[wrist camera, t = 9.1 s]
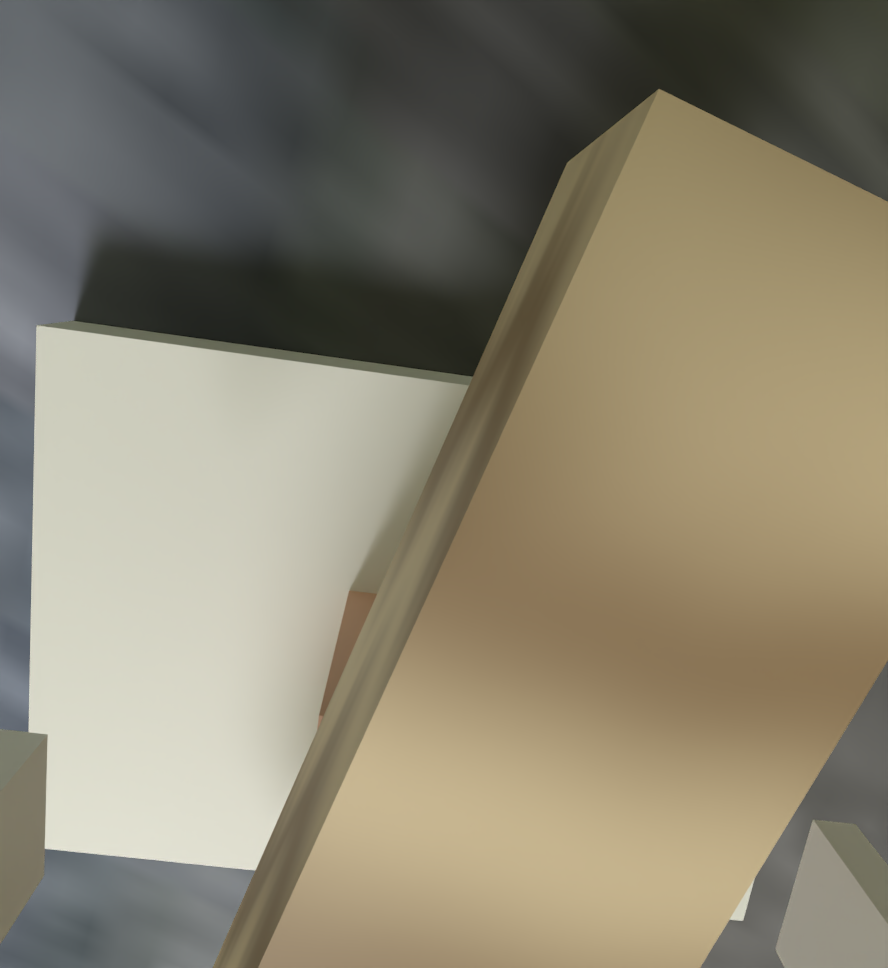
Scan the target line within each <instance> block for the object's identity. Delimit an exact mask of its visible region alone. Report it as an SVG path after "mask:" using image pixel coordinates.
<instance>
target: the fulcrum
mask: <svg viewBox="0 0 888 968" xmlns="http://www.w3.org/2000/svg"><path fill="white" fill-rule="evenodd" d="M472 378H473V377H471V376H464V375H457V374H450V373H443V372H436V371H429V370H421V369H414V368H407V367H400V366H393V365H386V364H379V363H371V362H364V361H357V360H350V359H343V358H336V357H328V356H321V355H314V354H307V353H300V352H293V351H286V350H278V349H271V348H264V347H257V346H250V345H243V344H236V343H228V342H221V341H214V340H207V339H200V338H193V337H186V336H178V335H171V334H164V333H157V332H150V331H143V330H135V329H128V328H121V327H114V326H107V325H100V324H93V323H85V322H78V321H68V322H60V323H51V324H43V325H37V333H36V384H35V435H34V486H33V537H32V588H31V639H30V690H29V732H30V733H39V734H48V741H47V779H46V818H45V849H53V850H63V851H72V852H82V853H92V854H102V855H111V856H121V857H131V858H140V859H150V860H160V861H169V862H179V863H189V864H198V865H208V866H218V867H227V868H237V869H247V870H256V868H257V866H258V864H259V861H260V859H261V857H262V855H263V852H264V850H265V848H266V846H267V843H268V841H269V839H270V836H271V834H272V832H273V830H274V827H275V825H276V823H277V821H278V818H279V816H280V814H281V811H282V809H283V807H284V805H285V802H286V800H287V798H288V796H289V793H290V791H291V789H292V787H293V784H294V782H295V780H296V777H297V775H298V773H299V771H300V768H301V766H302V764H303V762H304V759H305V757H306V755H307V752H308V750H309V748H310V746H311V743H312V741H313V739H314V737H315V734H316V732H317V730H318V727H319V725H320V723H321V721H322V718H323V716H324V714H325V712H326V709H327V707H328V705H329V702H330V700H331V698H332V696H333V693H334V691H335V689H336V687H337V684H338V682H339V680H340V677H341V675H342V673H343V671H344V668H345V666H346V664H347V662H348V659H349V657H350V655H351V653H352V650H353V648H354V646H355V643H356V641H357V639H358V637H359V634H360V632H361V630H362V628H363V625H364V623H365V621H366V618H367V616H368V614H369V612H370V609H371V607H372V605H373V603H374V600H375V598H376V596H377V593H378V591H379V589H380V587H381V584H382V582H383V580H384V578H385V575H386V573H387V571H388V568H389V566H390V564H391V562H392V559H393V557H394V555H395V553H396V550H397V548H398V546H399V543H400V541H401V539H402V537H403V534H404V532H405V530H406V528H407V525H408V523H409V521H410V518H411V516H412V514H413V512H414V509H415V507H416V505H417V503H418V500H419V498H420V496H421V494H422V491H423V489H424V487H425V484H426V482H427V480H428V478H429V475H430V473H431V471H432V469H433V466H434V464H435V462H436V459H437V457H438V455H439V453H440V450H441V448H442V446H443V444H444V441H445V439H446V437H447V434H448V432H449V430H450V428H451V425H452V423H453V421H454V419H455V416H456V414H457V412H458V409H459V407H460V405H461V403H462V400H463V398H464V396H465V394H466V391H467V389H468V387H469V384H470V382H471V380H472ZM754 879H755V878H754ZM753 882H754V880H753ZM753 882H752V883H751V885H750V887H749V888H748V890H747V891H746V893H745V895H744V896H743V898H742V900H741V901H740V903H739V905H738V906H737V908H736V909H735V911H734V913H733V914H732V916H731V918H730V920H740V921H743V919H744V915H745V911H746V908H747V904H748V900H749V897H750V893H751V890H752V886H753Z"/></svg>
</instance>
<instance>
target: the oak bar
mask: <svg viewBox="0 0 888 968" xmlns="http://www.w3.org/2000/svg"><path fill="white" fill-rule="evenodd" d="M887 661H888V202H887V201H885V200H883V199H881V198H879V197H877V196H875V195H873V194H871V193H869V192H867V191H865V190H863V189H861V188H859V187H857V186H855V185H853V184H851V183H849V182H847V181H845V180H843V179H841V178H839V177H837V176H834V175H832V174H830V173H828V172H826V171H824V170H822V169H820V168H818V167H816V166H814V165H812V164H810V163H808V162H806V161H804V160H802V159H800V158H798V157H796V156H794V155H792V154H790V153H788V152H786V151H784V150H782V149H780V148H778V147H776V146H774V145H772V144H770V143H768V142H766V141H764V140H762V139H760V138H758V137H756V136H754V135H751V134H749V133H747V132H745V131H743V130H741V129H739V128H737V127H735V126H733V125H731V124H729V123H727V122H725V121H723V120H721V119H719V118H717V117H715V116H713V115H711V114H709V113H707V112H705V111H703V110H701V109H699V108H697V107H695V106H693V105H691V104H689V103H687V102H685V101H683V100H681V99H679V98H677V97H675V96H673V95H671V94H668V93H666V92H664V91H662V90H660V89H658V90H657V91H656V92H654V93H653V94H652V95H651V96H649V97H648V98H647V99H646V100H644V101H643V102H642V103H641V104H640V105H638V106H637V107H636V108H635V109H633V110H632V111H631V112H630V113H628V114H627V115H626V116H625V117H623V118H622V119H621V120H620V121H618V122H617V123H616V124H615V125H613V126H612V127H611V128H610V129H608V130H607V131H606V132H605V133H603V134H602V135H601V136H600V137H598V138H597V139H596V140H595V141H593V142H592V143H591V144H590V145H588V146H587V147H586V148H585V149H584V150H582V151H581V152H580V153H579V154H577V155H576V156H575V157H574V158H572V159H571V160H570V161H569V162H567V164H566V166H565V169H564V171H563V173H562V176H561V178H560V180H559V182H558V185H557V187H556V189H555V191H554V194H553V196H552V198H551V200H550V203H549V205H548V207H547V210H546V212H545V214H544V216H543V219H542V221H541V223H540V225H539V228H538V230H537V232H536V235H535V237H534V239H533V241H532V244H531V246H530V248H529V250H528V253H527V255H526V257H525V260H524V262H523V264H522V266H521V269H520V271H519V273H518V275H517V278H516V280H515V282H514V285H513V287H512V289H511V291H510V294H509V296H508V298H507V300H506V303H505V305H504V307H503V310H502V312H501V314H500V316H499V319H498V321H497V323H496V325H495V328H494V330H493V332H492V335H491V337H490V339H489V341H488V344H487V346H486V348H485V350H484V353H483V355H482V357H481V359H480V362H479V364H478V366H477V369H476V371H475V373H474V375H473V378H472V380H471V382H470V384H469V387H468V389H467V391H466V394H465V396H464V398H463V400H462V403H461V405H460V407H459V409H458V412H457V414H456V416H455V419H454V421H453V423H452V425H451V428H450V430H449V432H448V434H447V437H446V439H445V441H444V444H443V446H442V448H441V450H440V453H439V455H438V457H437V459H436V462H435V464H434V466H433V469H432V471H431V473H430V475H429V478H428V480H427V482H426V484H425V487H424V489H423V491H422V494H421V496H420V498H419V500H418V503H417V505H416V507H415V509H414V512H413V514H412V516H411V518H410V521H409V523H408V525H407V528H406V530H405V532H404V534H403V537H402V539H401V541H400V543H399V546H398V548H397V550H396V553H395V555H394V557H393V559H392V562H391V564H390V566H389V568H388V571H387V573H386V575H385V578H384V580H383V582H382V584H381V587H380V589H379V591H378V593H377V596H376V598H375V600H374V603H373V605H372V607H371V609H370V612H369V614H368V616H367V618H366V621H365V623H364V625H363V628H362V630H361V632H360V634H359V637H358V639H357V641H356V643H355V646H354V648H353V650H352V653H351V655H350V657H349V659H348V662H347V664H346V666H345V668H344V671H343V673H342V675H341V677H340V680H339V682H338V684H337V687H336V689H335V691H334V693H333V696H332V698H331V700H330V702H329V705H328V707H327V709H326V712H325V714H324V716H323V718H322V721H321V723H320V725H319V727H318V730H317V732H316V734H315V737H314V739H313V741H312V743H311V746H310V748H309V750H308V752H307V755H306V757H305V759H304V762H303V764H302V766H301V768H300V771H299V773H298V775H297V777H296V780H295V782H294V784H293V787H292V789H291V791H290V793H289V796H288V798H287V800H286V802H285V805H284V807H283V809H282V811H281V814H280V816H279V818H278V821H277V823H276V825H275V827H274V830H273V832H272V834H271V836H270V839H269V841H268V843H267V846H266V848H265V850H264V852H263V855H262V857H261V859H260V861H259V864H258V866H257V868H256V871H255V873H254V875H253V877H252V880H251V882H250V884H249V886H248V889H247V891H246V893H245V896H244V898H243V900H242V902H241V905H240V907H239V909H238V911H237V914H236V916H235V918H234V921H233V923H232V925H231V927H230V930H229V932H228V934H227V936H226V939H225V941H224V943H223V946H222V948H221V950H220V952H219V955H218V957H217V959H216V961H215V964H214V966H213V968H700V967H701V965H702V963H703V962H704V960H705V959H706V957H707V955H708V954H709V952H710V950H711V949H712V947H713V945H714V944H715V942H716V941H717V939H718V937H719V936H720V934H721V932H722V931H723V929H724V927H725V926H726V924H727V923H728V921H729V919H730V918H731V916H732V914H733V913H734V911H735V909H736V908H737V906H738V905H739V903H740V901H741V900H742V898H743V896H744V895H745V893H746V891H747V890H748V888H749V887H750V885H751V883H752V882H753V880H754V878H755V877H756V875H757V873H758V872H759V870H760V869H761V867H762V865H763V864H764V862H765V860H766V859H767V857H768V855H769V854H770V852H771V851H772V849H773V847H774V846H775V844H776V842H777V841H778V839H779V837H780V836H781V834H782V833H783V831H784V829H785V828H786V826H787V824H788V823H789V821H790V819H791V818H792V816H793V815H794V813H795V811H796V810H797V808H798V806H799V805H800V803H801V801H802V800H803V798H804V797H805V795H806V793H807V792H808V790H809V788H810V787H811V785H812V784H813V782H814V780H815V779H816V777H817V775H818V774H819V772H820V770H821V769H822V767H823V766H824V764H825V762H826V761H827V759H828V757H829V756H830V754H831V752H832V751H833V749H834V748H835V746H836V744H837V743H838V741H839V739H840V738H841V736H842V734H843V733H844V731H845V730H846V728H847V726H848V725H849V723H850V721H851V720H852V718H853V716H854V715H855V713H856V712H857V710H858V708H859V707H860V705H861V703H862V702H863V700H864V698H865V697H866V695H867V694H868V692H869V690H870V689H871V687H872V685H873V684H874V682H875V680H876V679H877V677H878V676H879V674H880V672H881V671H882V669H883V667H884V666H885V664H886V662H887Z"/></svg>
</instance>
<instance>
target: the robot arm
mask: <svg viewBox="0 0 888 968" xmlns="http://www.w3.org/2000/svg"><path fill="white" fill-rule="evenodd" d="M47 741H48V734H39V733H30V732H21V731H12V730H3V729H0V944H1V942H2V941H3V939H4V937H5V936H6V934H7V933H8V931H9V930H10V928H11V926H12V925H13V923H14V922H15V920H16V919H17V917H18V915H19V914H20V912H21V911H22V909H23V908H24V906H25V904H26V903H27V901H28V900H29V898H30V897H31V895H32V893H33V892H34V890H35V889H36V887H37V886H38V884H39V882H40V881H41V879H42V878H43V876H44V856H45V818H46V779H47ZM775 950H776V952H777V954H778V956H779V958H780V960H781V962H782V964H783V966H784V967H785V968H888V865H887V864H886V863H885V862H884V860H883V859H882V858H881V856H880V855H879V854H878V853H877V851H876V850H875V849H874V848H873V846H872V845H871V844H870V842H869V841H868V840H867V839H866V837H865V836H864V835H863V834H862V832H861V831H860V830H859V828H858V827H857V826H856V825H855V824H848V823H839V822H830V821H821V820H813V821H812V825H811V828H810V832H809V835H808V839H807V842H806V845H805V849H804V852H803V856H802V859H801V863H800V866H799V870H798V873H797V876H796V880H795V883H794V887H793V890H792V894H791V897H790V901H789V904H788V907H787V911H786V914H785V918H784V921H783V925H782V928H781V932H780V935H779V938H778V942H777V945H776V949H775Z"/></svg>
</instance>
